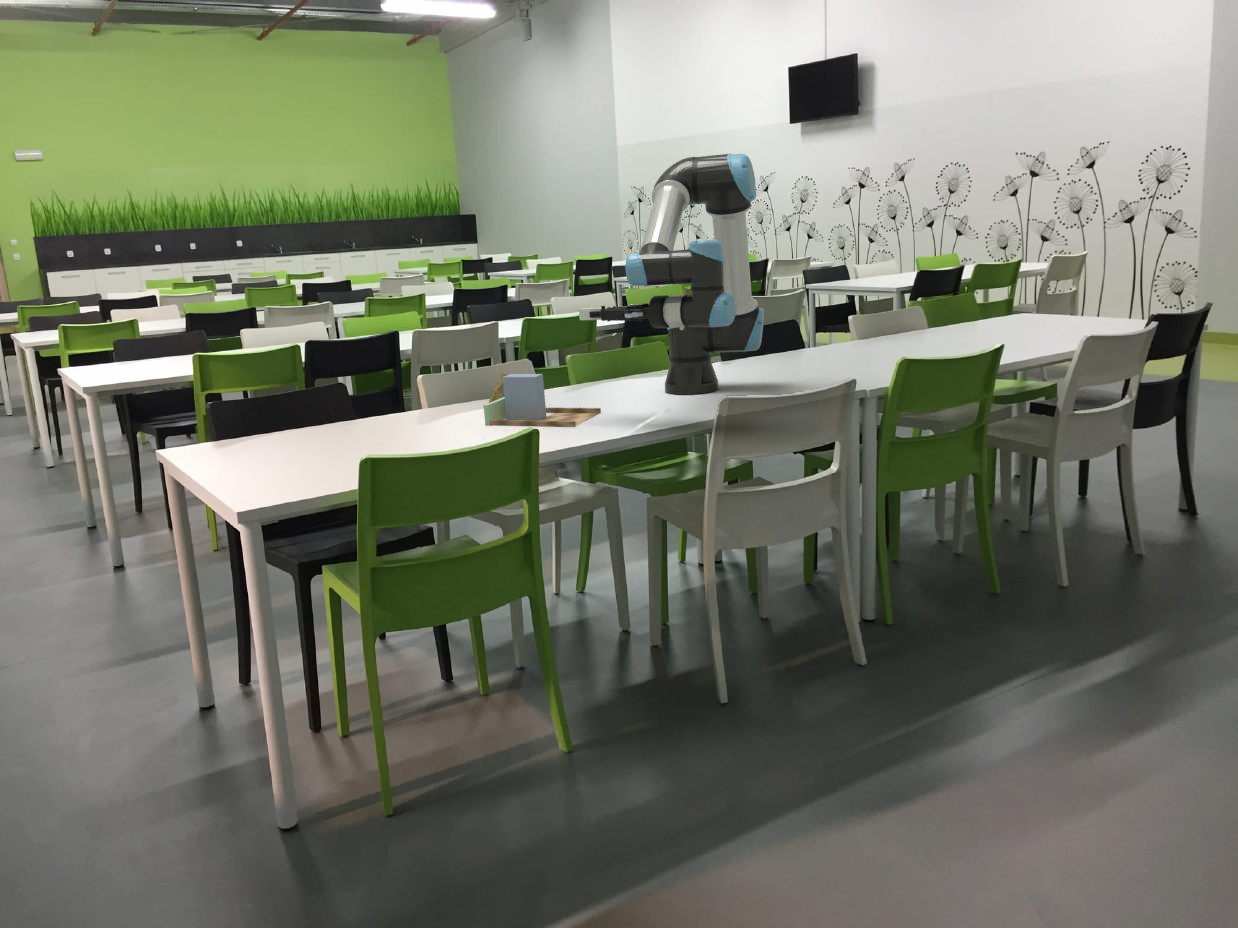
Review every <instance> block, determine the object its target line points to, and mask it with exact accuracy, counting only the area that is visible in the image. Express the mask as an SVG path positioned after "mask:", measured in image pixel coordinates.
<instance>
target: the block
mask: <svg viewBox="0 0 1238 928" xmlns="http://www.w3.org/2000/svg"><path fill="white" fill-rule="evenodd" d="M506 375H507V376H504V377H503V387H504V398H505V409H506V419H507V420H533V421H539V420H541V419H544V418H546V416H547V413H546V408H547V406H546V397H545V396H546V395H545V385H544V383H545V381H544V374H543V373H510V374H506Z"/></svg>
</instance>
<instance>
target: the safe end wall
mask: <svg viewBox="0 0 1238 928" xmlns="http://www.w3.org/2000/svg"><path fill="white" fill-rule="evenodd" d="M483 414H484V423H485V424H484V425H485V426H491V425H490V423H489V420H503V419H505V418H506V409H505V398H504V397H503V398H500V399H498V400H495V401H493V402H490V403H489V402H488V403H485V404H483Z"/></svg>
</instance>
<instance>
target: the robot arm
mask: <svg viewBox="0 0 1238 928" xmlns="http://www.w3.org/2000/svg"><path fill="white" fill-rule="evenodd" d="M756 197H757V185H756V177H755V171H754V168H753V164H752V161H751V159H750V157H749V155H747V154H745V153H725V154H724V153H723V154H722V153H721V154H714V155H705V156H703V155H702V156H690V157H689V156H688V157H685V158H682V159H680V160H678V161H676V162H674V163H673V164H672V165H671V166H669V167H668V168H666V170H665V171H663V173H662V174H661V175H660V176H659V178H658V179H657V180H656V182H655V184H654V186H653V190H652V192H651V201H652V208H651V211H650V215H649V217H648V222H647V225H646V228H645V232H644V234H643V235H644V236H643V240H642V243H641V246H640V249H639V252H638V251H636V252H632V253H629V254H627V256H626V258H625V259H626V260H625V275H626V280H627V282H628V284H629V285H631V286H633V287H634V286H635V287H637V286H638V287H639V286H640V287H641V286H642V287H643V286H644V287H649V286H664V285H665V286H667V285H685V284H686V285H687V284H688V285H690V291H691V292H690V293H691V294H687V293H686V294H685V293H684V294H669V295H654V296H653V297H651V299H649V302H645V303H640V304H633V305H624V306H623V305H622V306H615V305H614V306H612V307H609V306H608V307H606V305H601V306H600V307H586V308H585V307H583V308H579V309H578V317H579V321H603V322H611V321H612V322H613V321H614V322H615V321H616V322H617V321H619V322H624V321H626V322H639V323H642V322H646V321H649V324H650V325H651V326H652V328H654V329H667V332H668V333H667V334H668V335H667V336H668V353H669V355H668V356H669V367H668V369H667V374H666V377H665V381H664V391H665V393H667V394H670V395H671V394H672V395H700V394H705V393H706V394H707V393H712V392H715V391H718V390H719V379H718V377H717V374H716V371H715V369H714V366H713V363H712V353H738V352H739V353H741V352H742V353H745V352H753V351H754V352H755V351H758V350H759V349H760V347H761V344H762V339H763V331H764V321H765V309H764V308H763V307H759V303H758V300H757V299H755V298H754V297H753V296H752V295H753V294H752V284H751V271H750V268H751V267H750V256H749V243H748V242H749V241H748V229H747V228H748V227H747V216H746V214H747V212H748V211H750V209H751V207H752V202H753V201H755V200H756V199H757V198H756ZM691 205H705V212H706V214H708V215H709V216H710V217H712V225H713V226H712V227H713V238H714V239H703V240H702V239H700V240H691V241H690V242H689V245H688V249H679V250H678V249H677V250H674V247H675V243H676V240H677V235H678V232H679V228H680V224H681V220H682V217H683V212H684V211H685V210H686V209H687V208H688V206H691Z"/></svg>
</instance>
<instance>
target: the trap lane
mask: <svg viewBox="0 0 1238 928" xmlns="http://www.w3.org/2000/svg"><path fill="white" fill-rule="evenodd" d="M601 411H602V408H601V407H546V414H550V415H546V418H544V419H541V420H539V421H533V420H507V419H506V418H505V419H503V420H489V423H490V425H489V426H496V427H497V426H501V427H502V426H504V427H505V426H506V427H508V426H509V427H549V428H550V427H552V428H553V427H554V428H555V427H556V428H575V427H577V426H579V425H581V424H583V423H585V422H587V421H589V420H590V419H592V418H595V417H596V416H598V415H600V414H601V413H602V412H601Z"/></svg>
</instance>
